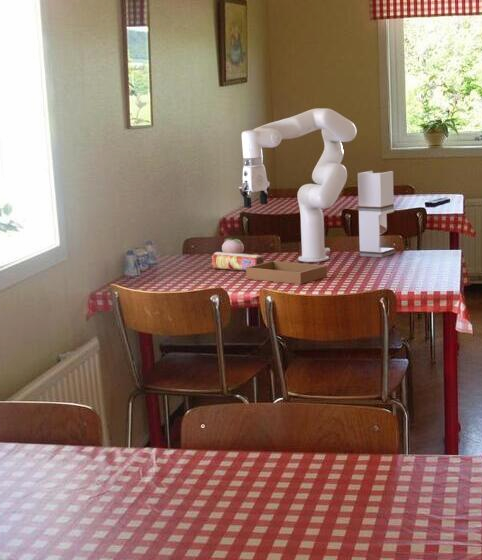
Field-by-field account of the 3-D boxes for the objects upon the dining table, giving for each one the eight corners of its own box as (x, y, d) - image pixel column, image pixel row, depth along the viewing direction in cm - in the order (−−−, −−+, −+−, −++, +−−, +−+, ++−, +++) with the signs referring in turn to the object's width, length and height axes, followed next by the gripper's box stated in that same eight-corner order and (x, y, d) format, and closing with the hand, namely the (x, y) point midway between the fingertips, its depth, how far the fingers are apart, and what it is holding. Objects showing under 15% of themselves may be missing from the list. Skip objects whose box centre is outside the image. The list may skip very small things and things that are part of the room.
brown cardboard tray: (273, 271, 390) (272, 260, 389) (326, 276, 376) (326, 265, 375) (246, 278, 376) (245, 267, 375) (300, 284, 362) (300, 272, 361)
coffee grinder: (381, 257, 416) (380, 173, 409) (359, 255, 421) (357, 173, 414) (394, 253, 425) (393, 171, 419) (372, 251, 431) (371, 170, 424)
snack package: (265, 269, 394) (264, 253, 392) (256, 272, 388) (255, 255, 386) (220, 267, 403) (219, 250, 402) (210, 269, 397) (210, 253, 396)
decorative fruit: (218, 261, 417) (217, 237, 415) (227, 258, 424) (226, 235, 422) (238, 262, 413) (236, 238, 411) (247, 259, 420) (246, 235, 419)
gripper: (245, 164, 378) (249, 209, 381) (274, 160, 392) (277, 203, 395) (231, 164, 382) (234, 208, 386) (259, 160, 396) (262, 202, 400)
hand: (256, 205), depth 391 cm, fingers open, 9 cm apart
